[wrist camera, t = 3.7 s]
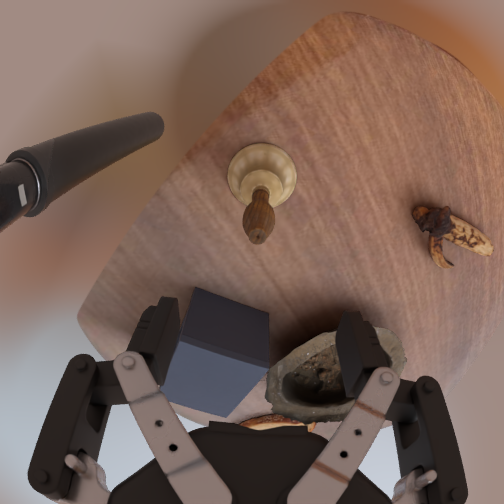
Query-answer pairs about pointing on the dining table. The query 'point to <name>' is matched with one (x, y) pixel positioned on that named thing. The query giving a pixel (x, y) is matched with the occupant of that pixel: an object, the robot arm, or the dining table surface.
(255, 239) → the hand bell
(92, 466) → the robot arm
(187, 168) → the dining table surface
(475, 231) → the lashed bone hook
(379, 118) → the dining table surface
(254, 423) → the bread slice
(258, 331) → the shelf
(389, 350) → the stone bowl
